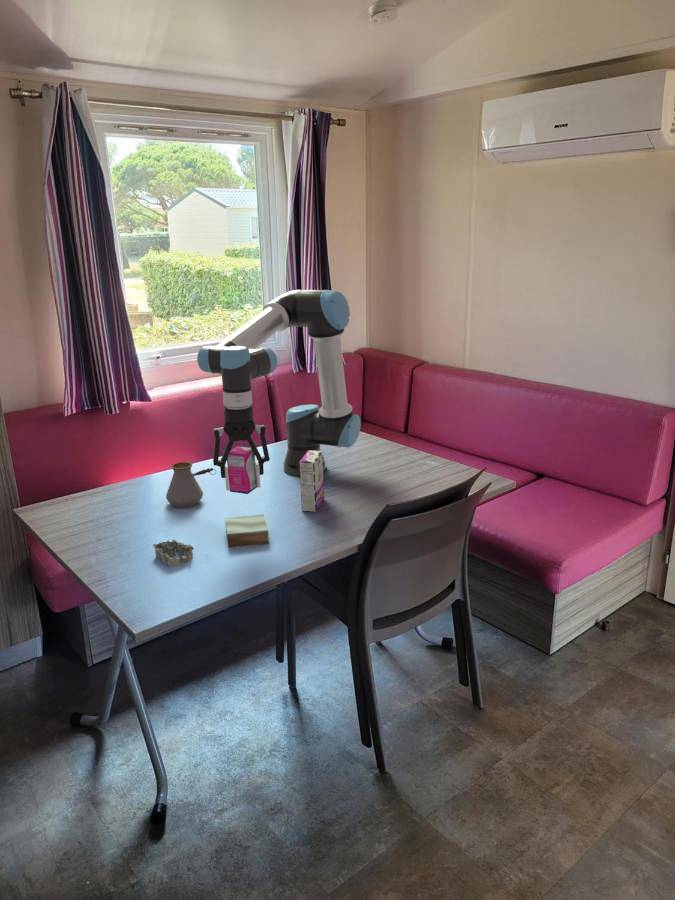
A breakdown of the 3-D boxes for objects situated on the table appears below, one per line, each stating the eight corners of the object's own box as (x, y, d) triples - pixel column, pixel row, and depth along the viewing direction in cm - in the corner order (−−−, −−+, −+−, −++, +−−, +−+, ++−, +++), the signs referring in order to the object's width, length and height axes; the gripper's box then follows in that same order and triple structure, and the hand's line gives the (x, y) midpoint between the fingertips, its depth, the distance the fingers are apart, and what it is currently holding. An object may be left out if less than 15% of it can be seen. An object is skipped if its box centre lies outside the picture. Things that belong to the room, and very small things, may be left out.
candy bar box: (309, 498, 214) (307, 449, 209) (324, 499, 213) (323, 450, 208) (300, 511, 203) (298, 461, 198) (316, 513, 202) (314, 462, 197)
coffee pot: (159, 504, 211) (154, 459, 206) (188, 493, 219) (184, 450, 215) (202, 521, 198) (198, 474, 193) (231, 509, 206) (228, 463, 201)
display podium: (226, 531, 191) (225, 518, 190) (264, 527, 193) (263, 514, 192) (228, 547, 181) (227, 534, 180) (268, 543, 183) (267, 530, 182)
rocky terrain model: (196, 561, 174) (195, 547, 173) (170, 570, 170) (168, 556, 168) (177, 547, 182) (176, 534, 181) (152, 556, 177) (150, 542, 176)
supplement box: (239, 484, 186) (236, 445, 182) (257, 487, 184) (255, 447, 180) (228, 491, 181) (225, 451, 177) (247, 494, 179) (245, 454, 175)
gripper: (198, 412, 170) (205, 495, 177) (278, 406, 174) (282, 488, 181) (198, 405, 177) (204, 485, 184) (275, 400, 181) (278, 479, 188)
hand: (243, 487), depth 182 cm, fingers closed on supplement box, 8 cm apart
